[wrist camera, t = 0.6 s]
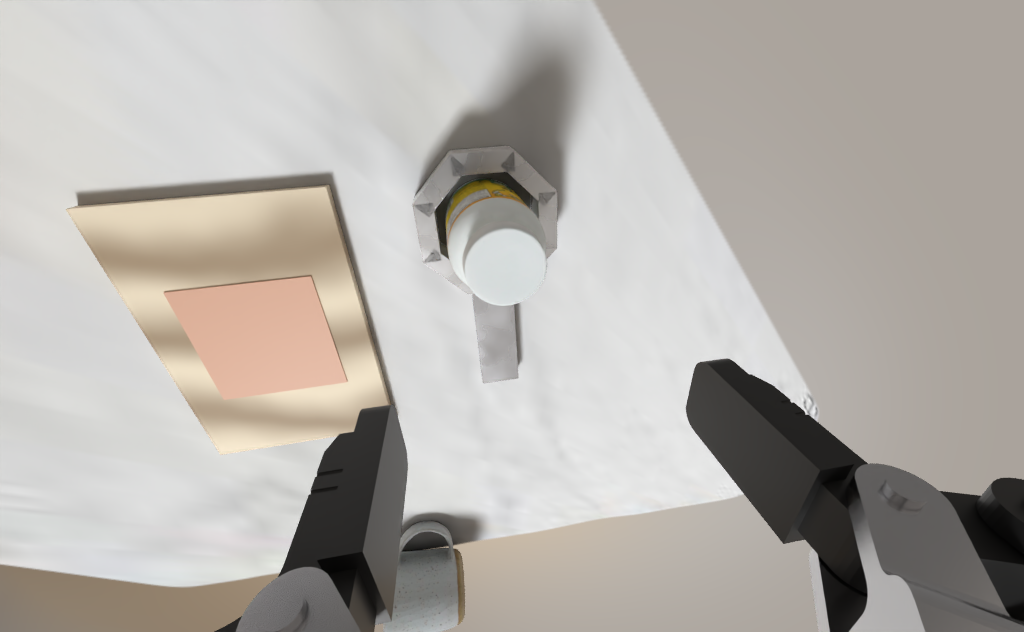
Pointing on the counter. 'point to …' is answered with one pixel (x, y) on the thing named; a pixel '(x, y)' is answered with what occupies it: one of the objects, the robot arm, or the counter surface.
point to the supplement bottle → (495, 242)
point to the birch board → (246, 309)
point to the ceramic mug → (428, 585)
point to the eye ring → (490, 319)
